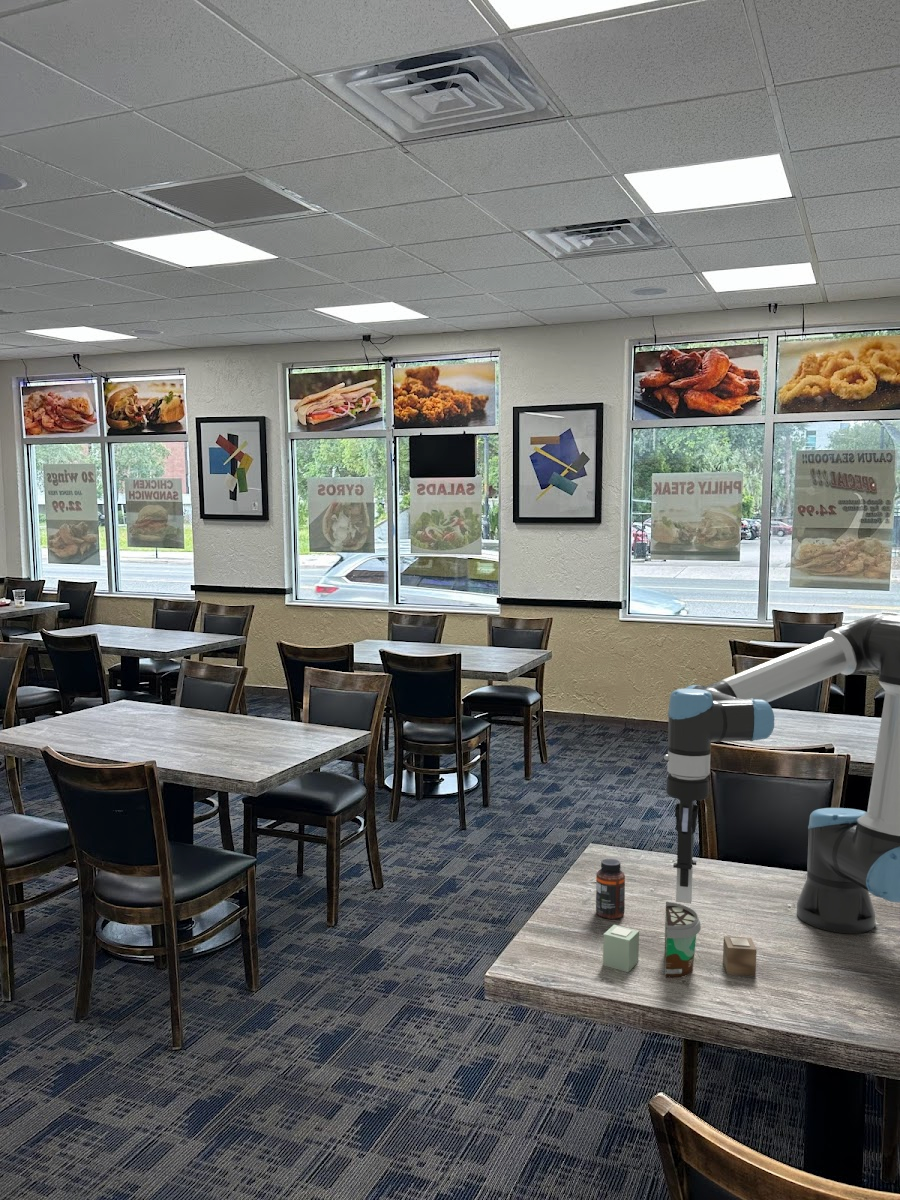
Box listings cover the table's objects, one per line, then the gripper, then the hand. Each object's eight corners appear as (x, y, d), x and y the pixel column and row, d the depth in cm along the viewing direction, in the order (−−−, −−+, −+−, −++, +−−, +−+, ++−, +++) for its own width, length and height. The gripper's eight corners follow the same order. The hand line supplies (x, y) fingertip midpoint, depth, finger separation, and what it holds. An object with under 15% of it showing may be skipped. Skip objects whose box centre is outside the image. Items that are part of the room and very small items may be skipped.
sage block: (638, 962, 176) (639, 929, 176) (628, 972, 172) (629, 939, 171) (613, 955, 179) (614, 923, 178) (602, 965, 174) (603, 932, 174)
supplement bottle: (623, 909, 200) (624, 857, 199) (625, 920, 194) (627, 867, 194) (594, 907, 201) (596, 856, 200) (596, 919, 195) (597, 865, 194)
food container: (701, 985, 167) (703, 930, 166) (665, 981, 168) (667, 926, 168) (697, 954, 179) (699, 903, 179) (664, 951, 180) (665, 900, 180)
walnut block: (750, 963, 176) (751, 936, 176) (755, 976, 171) (756, 948, 171) (722, 961, 177) (723, 934, 176) (727, 974, 172) (728, 946, 171)
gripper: (669, 764, 179) (665, 886, 180) (663, 781, 166) (659, 912, 168) (710, 768, 176) (706, 891, 178) (708, 785, 164) (703, 917, 166)
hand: (683, 901), depth 173 cm, fingers closed
